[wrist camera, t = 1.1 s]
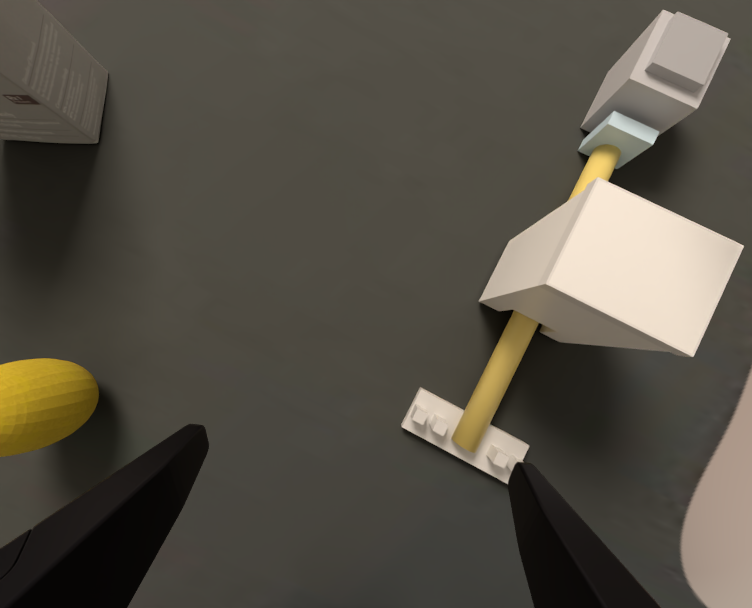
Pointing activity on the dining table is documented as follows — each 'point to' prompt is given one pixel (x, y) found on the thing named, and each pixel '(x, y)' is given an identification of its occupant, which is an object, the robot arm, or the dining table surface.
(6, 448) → the lemon
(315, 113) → the dining table surface
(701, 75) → the grey plastic block
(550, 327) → the white lidded box
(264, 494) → the dining table surface
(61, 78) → the skincare box
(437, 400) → the wooden handled rake
